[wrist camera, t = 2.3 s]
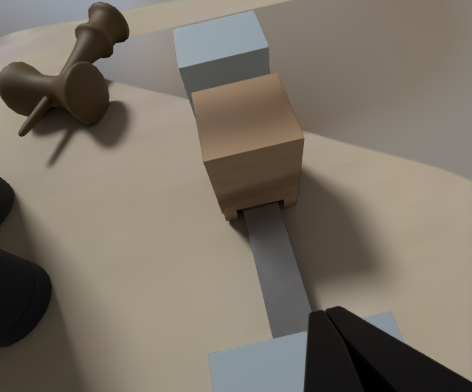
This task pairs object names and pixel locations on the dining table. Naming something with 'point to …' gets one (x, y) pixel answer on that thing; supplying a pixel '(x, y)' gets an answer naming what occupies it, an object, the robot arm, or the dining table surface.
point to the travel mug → (5, 199)
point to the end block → (221, 52)
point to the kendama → (68, 74)
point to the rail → (277, 270)
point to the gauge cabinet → (273, 362)
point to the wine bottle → (21, 297)
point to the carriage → (249, 143)
